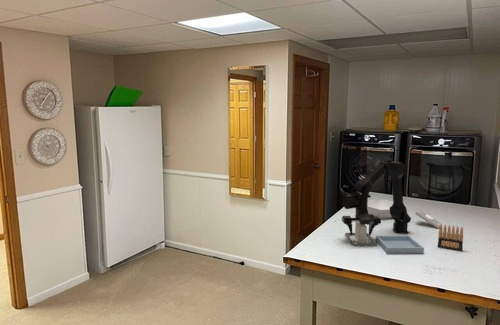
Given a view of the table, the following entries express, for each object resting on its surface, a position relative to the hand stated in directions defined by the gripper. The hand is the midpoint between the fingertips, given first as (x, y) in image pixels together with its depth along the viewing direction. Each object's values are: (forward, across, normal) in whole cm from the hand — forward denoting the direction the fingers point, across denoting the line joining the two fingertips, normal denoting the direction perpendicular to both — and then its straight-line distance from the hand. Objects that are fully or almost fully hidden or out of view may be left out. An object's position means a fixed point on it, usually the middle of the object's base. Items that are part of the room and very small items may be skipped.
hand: (360, 235), depth 194 cm
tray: (+2, +16, -10) cm, 19 cm away
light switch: (+3, +46, +25) cm, 53 cm away
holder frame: (+2, 0, 0) cm, 2 cm away
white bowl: (+3, +26, +46) cm, 53 cm away
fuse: (+2, 0, 0) cm, 2 cm away
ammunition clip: (+3, +40, -12) cm, 42 cm away
